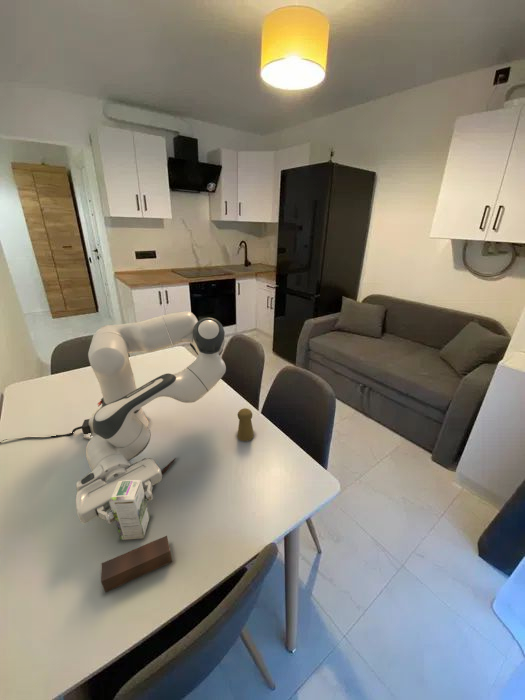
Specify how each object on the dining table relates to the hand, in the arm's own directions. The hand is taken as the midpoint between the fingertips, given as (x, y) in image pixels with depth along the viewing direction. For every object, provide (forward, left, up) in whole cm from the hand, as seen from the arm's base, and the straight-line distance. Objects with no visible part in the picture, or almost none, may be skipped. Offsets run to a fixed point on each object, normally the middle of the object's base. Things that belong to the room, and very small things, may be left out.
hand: (131, 509), depth 70 cm
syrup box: (-1, +1, -9) cm, 9 cm away
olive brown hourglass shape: (+22, +38, -9) cm, 45 cm away
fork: (-2, +17, -9) cm, 19 cm away
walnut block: (+4, -8, -9) cm, 13 cm away
